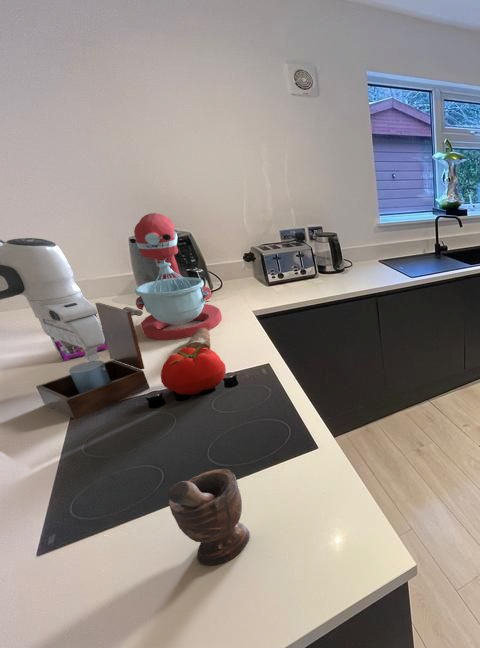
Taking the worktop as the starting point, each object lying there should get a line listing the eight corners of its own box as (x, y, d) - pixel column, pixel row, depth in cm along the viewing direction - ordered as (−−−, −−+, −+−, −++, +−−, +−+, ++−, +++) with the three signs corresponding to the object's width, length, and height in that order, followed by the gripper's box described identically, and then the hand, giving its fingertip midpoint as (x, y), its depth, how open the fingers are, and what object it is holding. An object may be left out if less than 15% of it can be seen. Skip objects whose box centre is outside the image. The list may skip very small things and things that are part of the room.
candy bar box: (106, 344, 135) (87, 299, 128) (110, 348, 132) (92, 302, 126) (58, 357, 126) (36, 309, 120) (62, 361, 123) (40, 312, 117)
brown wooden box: (76, 422, 97) (66, 400, 95) (46, 407, 102) (35, 386, 100) (150, 390, 110) (143, 370, 108) (120, 378, 115) (112, 359, 113)
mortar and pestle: (264, 560, 66) (235, 467, 58) (200, 597, 60) (159, 498, 53) (246, 517, 73) (219, 429, 66) (188, 546, 68) (150, 453, 60)
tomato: (234, 388, 112) (224, 351, 108) (170, 408, 103) (156, 369, 98) (224, 371, 121) (214, 336, 116) (164, 387, 112) (150, 350, 107)
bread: (187, 360, 126) (182, 345, 124) (195, 338, 141) (190, 323, 139) (211, 356, 129) (207, 340, 127) (216, 334, 144) (212, 320, 142)
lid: (126, 312, 102) (150, 307, 107) (95, 303, 107) (119, 298, 112) (141, 369, 107) (163, 362, 112) (110, 358, 112) (132, 352, 117)
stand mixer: (139, 347, 133) (94, 227, 118) (146, 317, 157) (109, 213, 141) (224, 331, 147) (194, 221, 131) (219, 305, 170) (193, 209, 154)
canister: (90, 405, 102) (76, 374, 99) (77, 399, 104) (63, 369, 101) (121, 392, 108) (109, 363, 104) (107, 387, 110) (95, 358, 106)
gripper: (20, 303, 97) (45, 353, 102) (64, 317, 90) (88, 370, 95) (55, 295, 102) (77, 343, 108) (99, 308, 95) (120, 358, 101)
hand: (83, 356), depth 101 cm, fingers open, 8 cm apart
